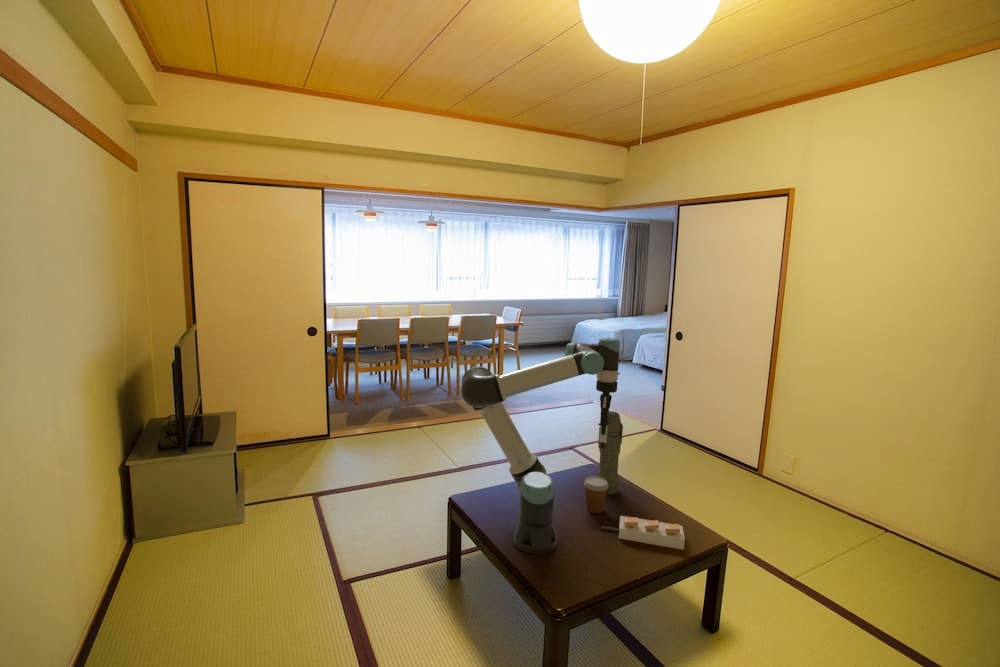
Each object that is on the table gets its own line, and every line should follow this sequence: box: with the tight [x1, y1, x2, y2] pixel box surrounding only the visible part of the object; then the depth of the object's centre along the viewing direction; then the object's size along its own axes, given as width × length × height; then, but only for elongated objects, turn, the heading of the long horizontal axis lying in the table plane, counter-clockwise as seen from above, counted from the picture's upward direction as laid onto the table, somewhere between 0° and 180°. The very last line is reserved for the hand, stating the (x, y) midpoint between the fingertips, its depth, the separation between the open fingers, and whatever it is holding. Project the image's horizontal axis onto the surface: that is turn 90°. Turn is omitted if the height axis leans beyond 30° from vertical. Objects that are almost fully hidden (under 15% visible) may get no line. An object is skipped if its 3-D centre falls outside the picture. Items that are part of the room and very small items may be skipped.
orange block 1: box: [624, 516, 639, 526], centre depth 171 cm, size 5×3×2 cm
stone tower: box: [597, 410, 624, 496], centre depth 204 cm, size 9×12×35 cm
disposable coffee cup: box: [583, 475, 608, 514], centre depth 189 cm, size 10×10×12 cm
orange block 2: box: [644, 519, 659, 530], centre depth 169 cm, size 5×3×2 cm
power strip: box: [601, 515, 686, 550], centre depth 172 cm, size 28×9×5 cm, turn 74°
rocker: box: [665, 523, 680, 533], centre depth 167 cm, size 5×3×2 cm
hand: (602, 441), depth 176 cm, fingers closed
